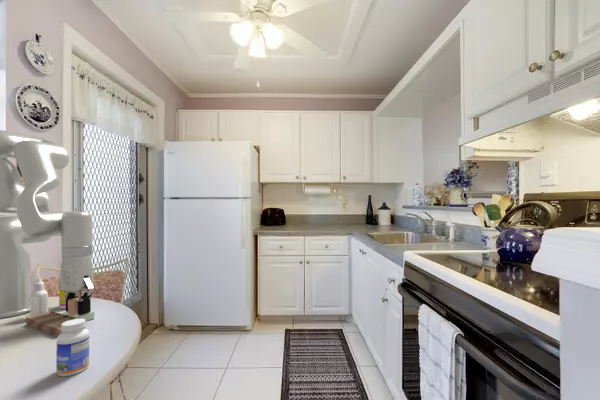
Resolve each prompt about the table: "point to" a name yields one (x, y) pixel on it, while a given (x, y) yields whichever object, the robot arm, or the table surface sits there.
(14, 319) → the table surface
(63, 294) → the supplement bottle
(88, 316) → the stub
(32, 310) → the eye dropper bottle
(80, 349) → the pill bottle
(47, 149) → the robot arm
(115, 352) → the table surface
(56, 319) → the board
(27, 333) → the table surface
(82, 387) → the table surface
